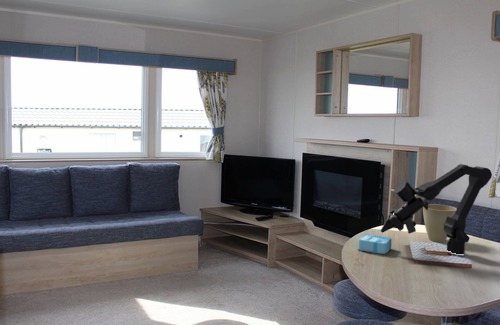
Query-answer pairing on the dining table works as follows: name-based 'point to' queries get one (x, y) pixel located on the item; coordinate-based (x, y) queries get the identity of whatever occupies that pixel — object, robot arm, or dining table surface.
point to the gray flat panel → (368, 251)
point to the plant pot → (437, 221)
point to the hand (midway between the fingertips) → (381, 231)
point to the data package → (374, 243)
